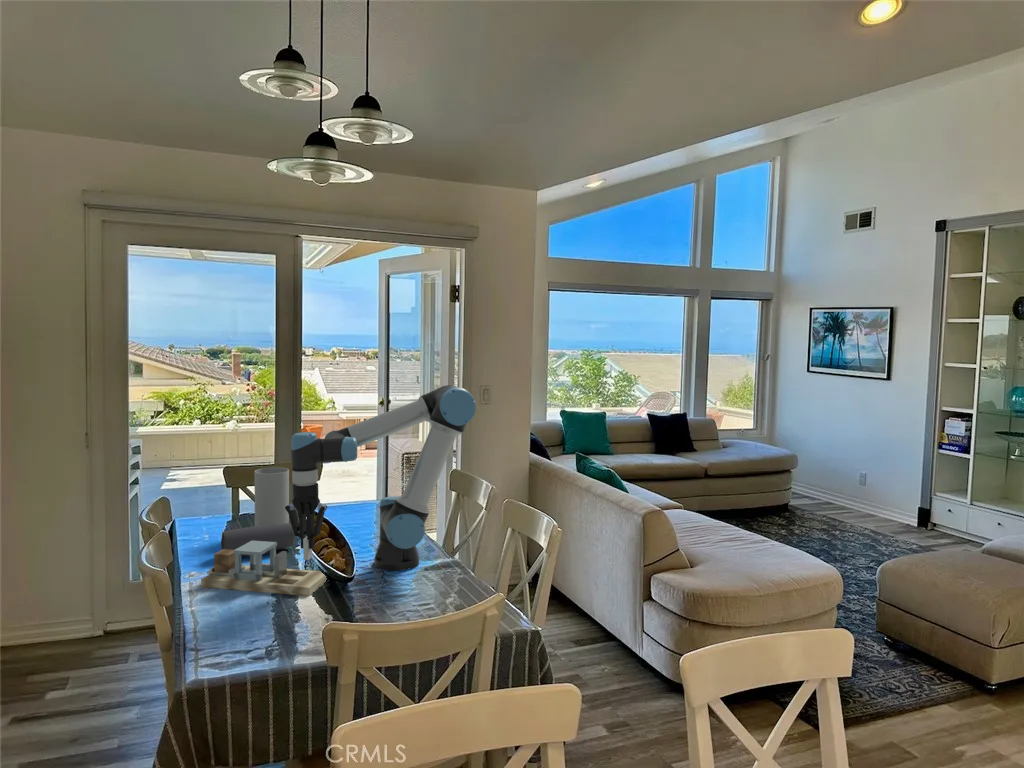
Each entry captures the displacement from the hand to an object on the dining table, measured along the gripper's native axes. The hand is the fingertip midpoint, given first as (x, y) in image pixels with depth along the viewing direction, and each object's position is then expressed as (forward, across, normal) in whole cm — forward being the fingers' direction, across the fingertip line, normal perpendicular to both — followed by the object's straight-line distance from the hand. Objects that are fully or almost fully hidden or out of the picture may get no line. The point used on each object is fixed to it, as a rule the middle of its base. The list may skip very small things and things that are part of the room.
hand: (307, 558), depth 208 cm
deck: (+8, +14, +1) cm, 16 cm away
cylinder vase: (+8, +38, -48) cm, 62 cm away
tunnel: (+5, +17, +1) cm, 18 cm away
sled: (+5, +20, +1) cm, 20 cm away
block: (+4, +27, +1) cm, 27 cm away
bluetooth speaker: (+8, +31, -25) cm, 41 cm away
